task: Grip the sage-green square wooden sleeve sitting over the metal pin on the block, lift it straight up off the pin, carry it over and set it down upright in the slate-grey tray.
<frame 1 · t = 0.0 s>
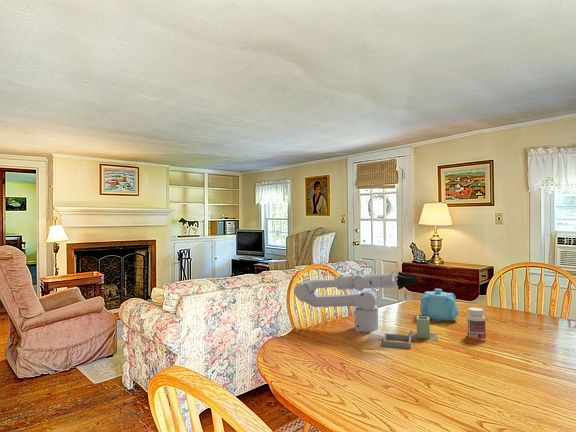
hand: (416, 279, 145), 22 cm above the table, tool horizontal, fingers open, 7 cm apart
pill bottle: (476, 339, 138), on the table
pin block: (423, 338, 140), on the table
green sleeve: (423, 336, 140), point 1 cm above the table, touching pin block
grey tray: (397, 344, 133), on the table
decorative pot: (438, 319, 167), on the table
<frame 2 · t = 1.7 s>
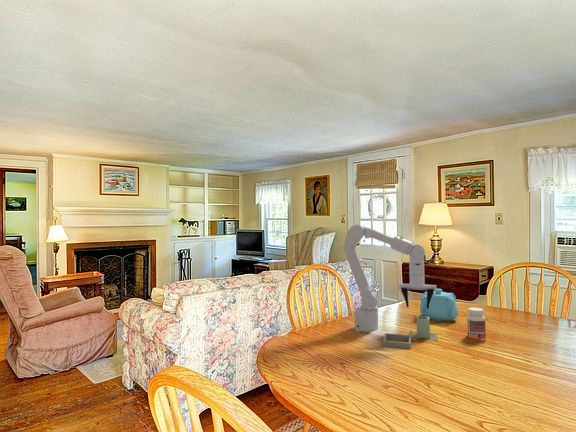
hand: (417, 307, 148), 10 cm above the table, tool pointing down, fingers open, 7 cm apart
nothing on the table moved.
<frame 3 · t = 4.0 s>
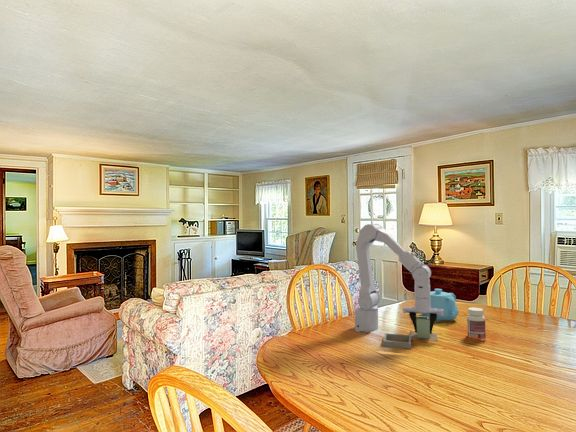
hand: (423, 332, 140), 2 cm above the table, tool pointing down, fingers closed on green sleeve, 5 cm apart
green sleeve: (423, 336, 140), point 1 cm above the table, touching gripper, pin block
everything else where it was.
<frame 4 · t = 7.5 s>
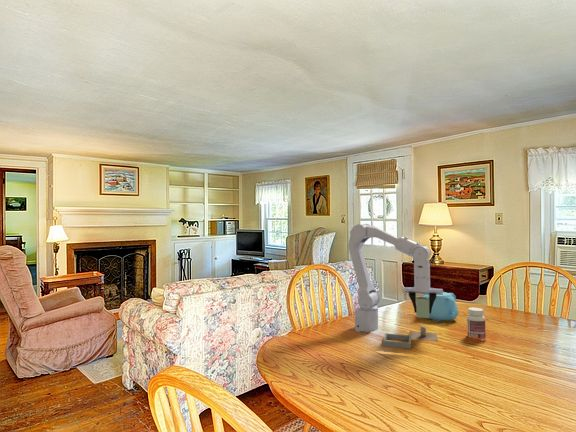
hand: (422, 312, 140), 10 cm above the table, tool pointing down, fingers closed on green sleeve, 5 cm apart
green sleeve: (422, 316, 140), point 8 cm above the table, touching gripper
everything else where it was.
when the fingers open (3 cm above the table, at t = 10.9 s): green sleeve drops 1 cm, resting on grey tray.
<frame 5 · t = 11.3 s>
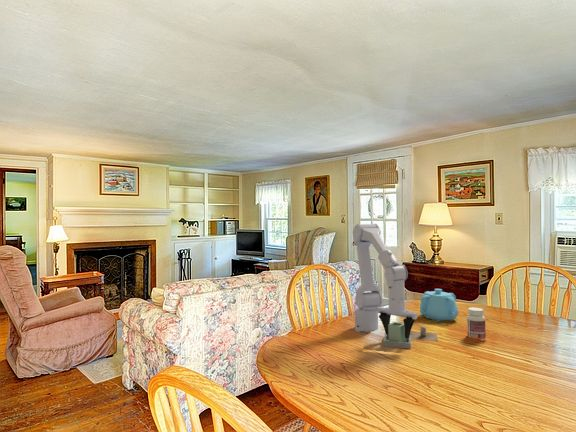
hand: (397, 335, 133), 3 cm above the table, tool pointing down, fingers open, 7 cm apart
green sleeve: (397, 343, 133), point 1 cm above the table, touching grey tray
everything else where it was.
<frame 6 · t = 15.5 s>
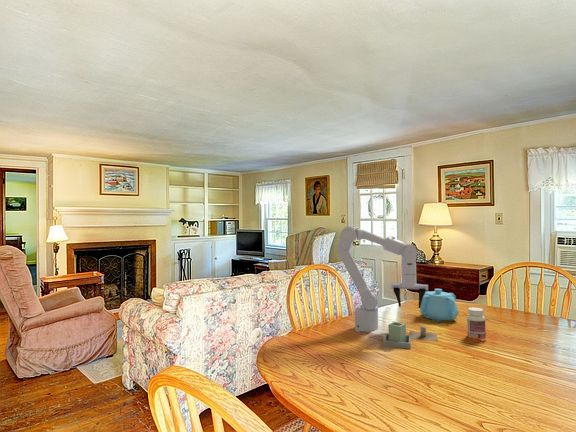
hand: (409, 306, 149), 10 cm above the table, tool pointing down, fingers open, 7 cm apart
nothing on the table moved.
at the end: green sleeve 0.0 cm off-centre on the grey tray, point 0.6 cm above the grey tray's base; green sleeve tilted 0°; the gripper is holding nothing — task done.
